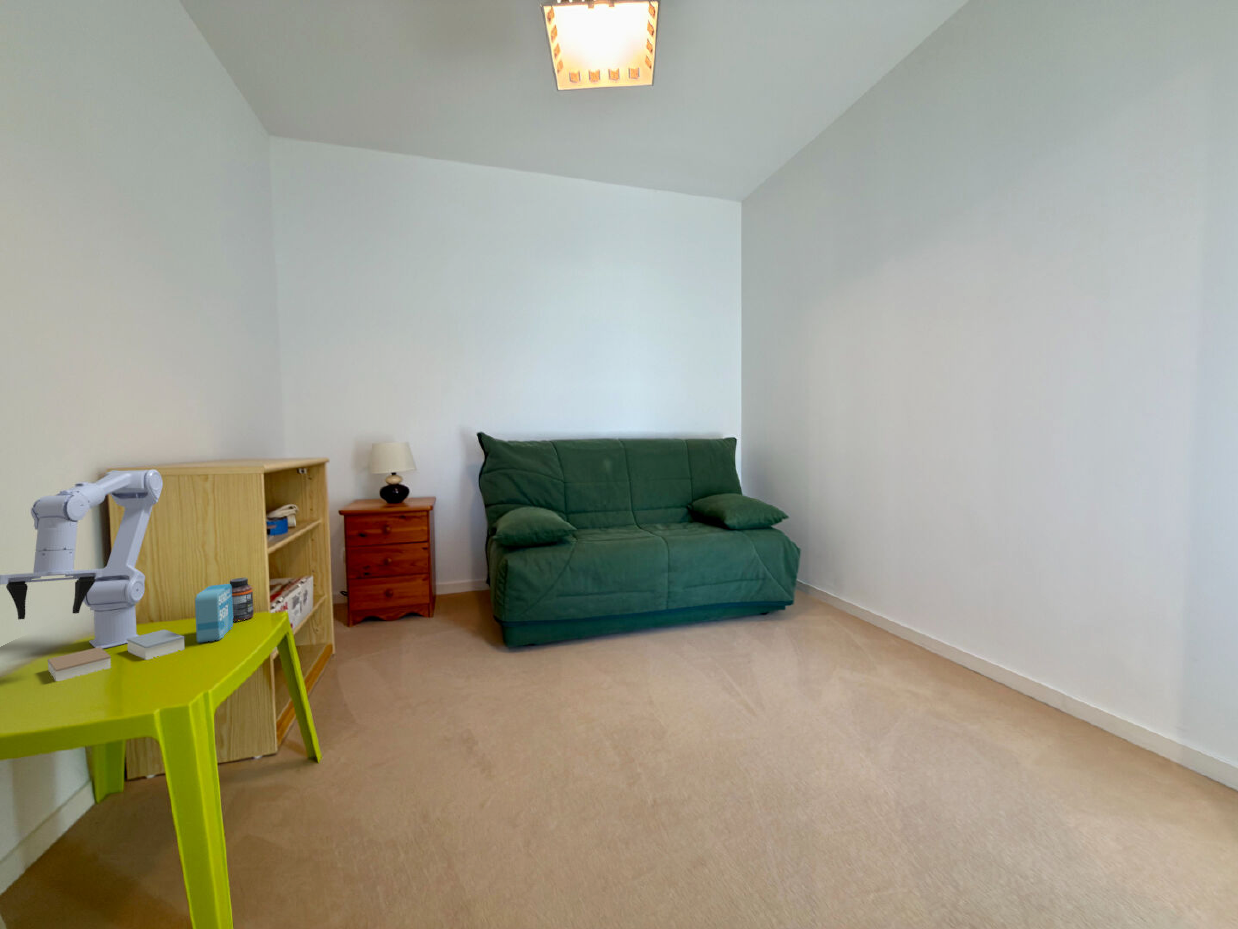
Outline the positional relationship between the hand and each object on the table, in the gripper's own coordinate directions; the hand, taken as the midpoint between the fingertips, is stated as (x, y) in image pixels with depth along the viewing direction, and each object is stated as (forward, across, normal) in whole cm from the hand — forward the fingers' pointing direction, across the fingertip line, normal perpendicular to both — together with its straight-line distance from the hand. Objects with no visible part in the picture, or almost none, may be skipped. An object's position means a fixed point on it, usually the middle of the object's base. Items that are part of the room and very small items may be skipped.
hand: (49, 616), depth 106 cm
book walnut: (+12, +5, +1) cm, 14 cm away
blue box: (+10, +29, 0) cm, 31 cm away
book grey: (+11, +18, +1) cm, 21 cm away
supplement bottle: (+7, +38, +10) cm, 40 cm away
